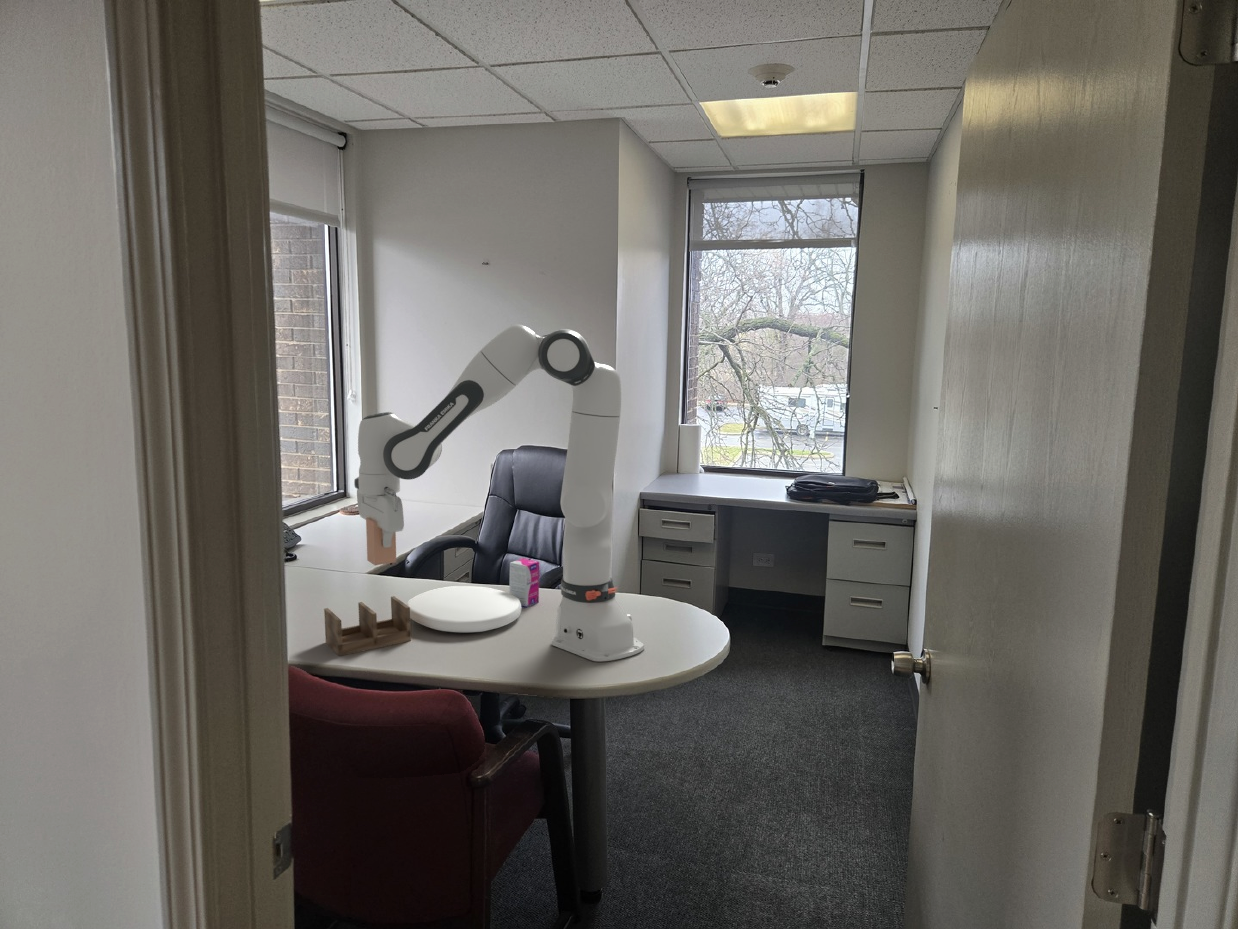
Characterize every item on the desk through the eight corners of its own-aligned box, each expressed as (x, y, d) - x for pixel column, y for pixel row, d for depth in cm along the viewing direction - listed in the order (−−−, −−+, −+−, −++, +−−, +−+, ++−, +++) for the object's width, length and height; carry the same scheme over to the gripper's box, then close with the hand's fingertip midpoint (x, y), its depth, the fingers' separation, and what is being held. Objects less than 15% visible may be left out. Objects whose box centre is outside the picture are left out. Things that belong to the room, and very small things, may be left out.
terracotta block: (396, 562, 187) (395, 519, 185) (374, 565, 184) (373, 522, 182) (388, 557, 191) (387, 515, 189) (367, 560, 188) (366, 517, 186)
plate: (538, 591, 212) (492, 625, 187) (536, 614, 213) (490, 652, 188) (442, 570, 219) (386, 600, 194) (440, 593, 221) (384, 626, 195)
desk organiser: (410, 640, 189) (409, 607, 187) (339, 656, 179) (337, 621, 178) (395, 628, 197) (394, 596, 195) (325, 642, 187) (324, 608, 186)
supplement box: (526, 608, 212) (526, 565, 210) (508, 604, 215) (508, 562, 213) (539, 602, 217) (539, 560, 215) (522, 598, 220) (522, 557, 218)
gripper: (410, 490, 178) (412, 551, 180) (378, 476, 195) (379, 533, 197) (382, 492, 175) (384, 555, 177) (351, 479, 191) (353, 536, 193)
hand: (381, 543), depth 187 cm, fingers closed on terracotta block, 5 cm apart
